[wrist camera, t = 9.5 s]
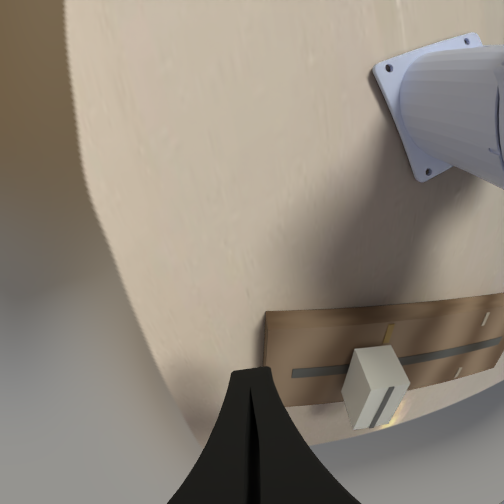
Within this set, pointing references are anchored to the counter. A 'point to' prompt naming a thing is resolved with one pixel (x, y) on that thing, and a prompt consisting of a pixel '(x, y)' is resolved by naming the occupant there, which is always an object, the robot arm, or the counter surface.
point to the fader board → (381, 343)
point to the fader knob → (373, 386)
